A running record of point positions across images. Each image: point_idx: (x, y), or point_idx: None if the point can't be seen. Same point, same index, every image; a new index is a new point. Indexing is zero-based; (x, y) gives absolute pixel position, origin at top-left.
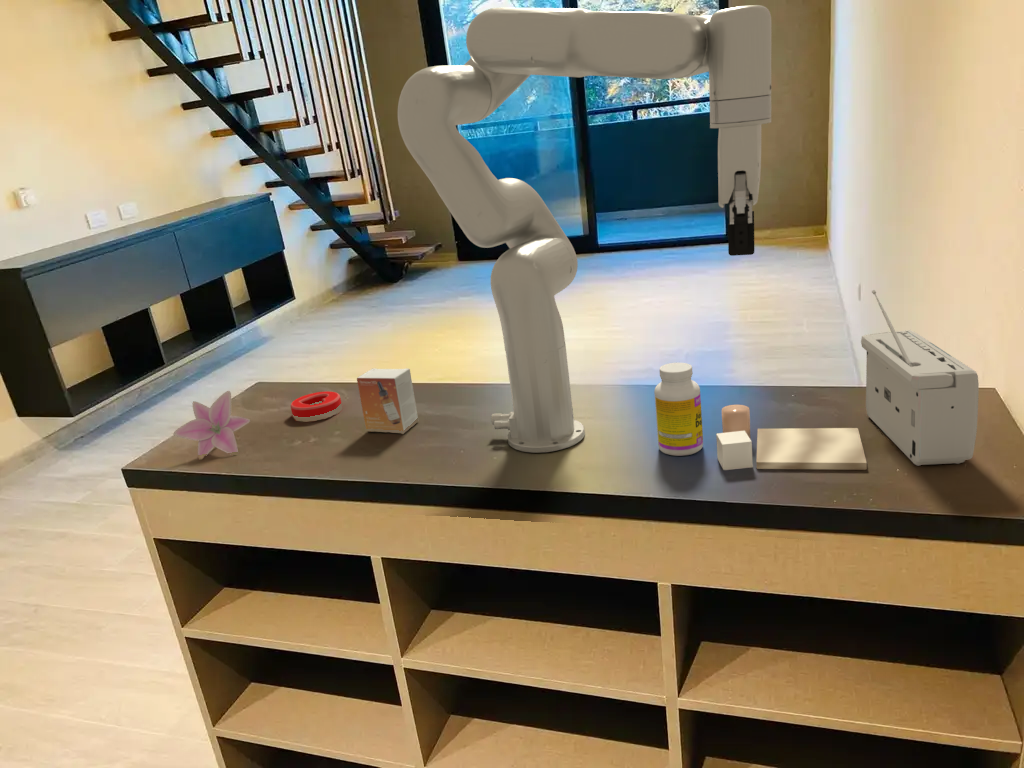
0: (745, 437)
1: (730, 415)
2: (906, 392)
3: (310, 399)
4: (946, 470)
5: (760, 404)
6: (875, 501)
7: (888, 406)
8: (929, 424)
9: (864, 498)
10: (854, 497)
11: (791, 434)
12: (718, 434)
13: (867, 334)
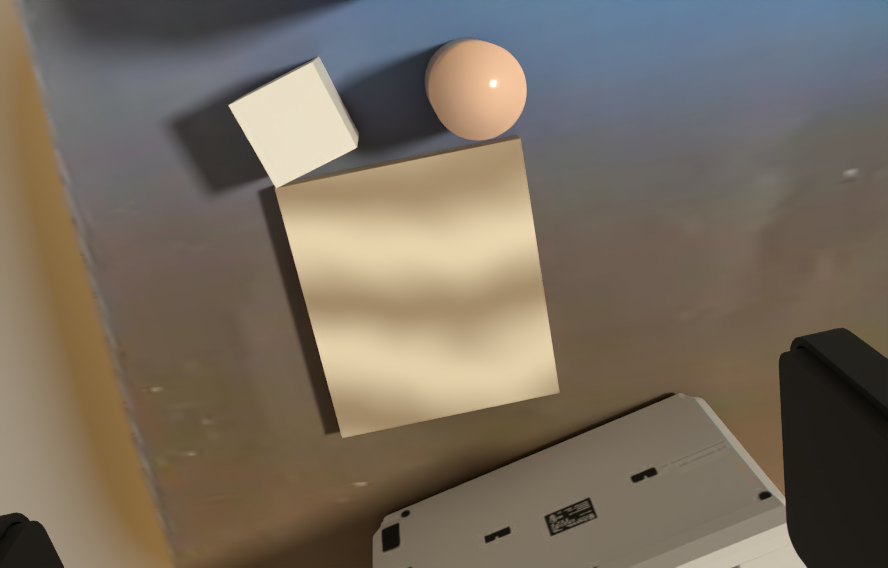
0: (301, 163)
1: (431, 85)
2: None
3: None
4: None
5: (772, 88)
6: (184, 463)
7: (553, 501)
8: None
9: (191, 442)
10: (189, 423)
11: (490, 241)
12: (306, 71)
13: None
